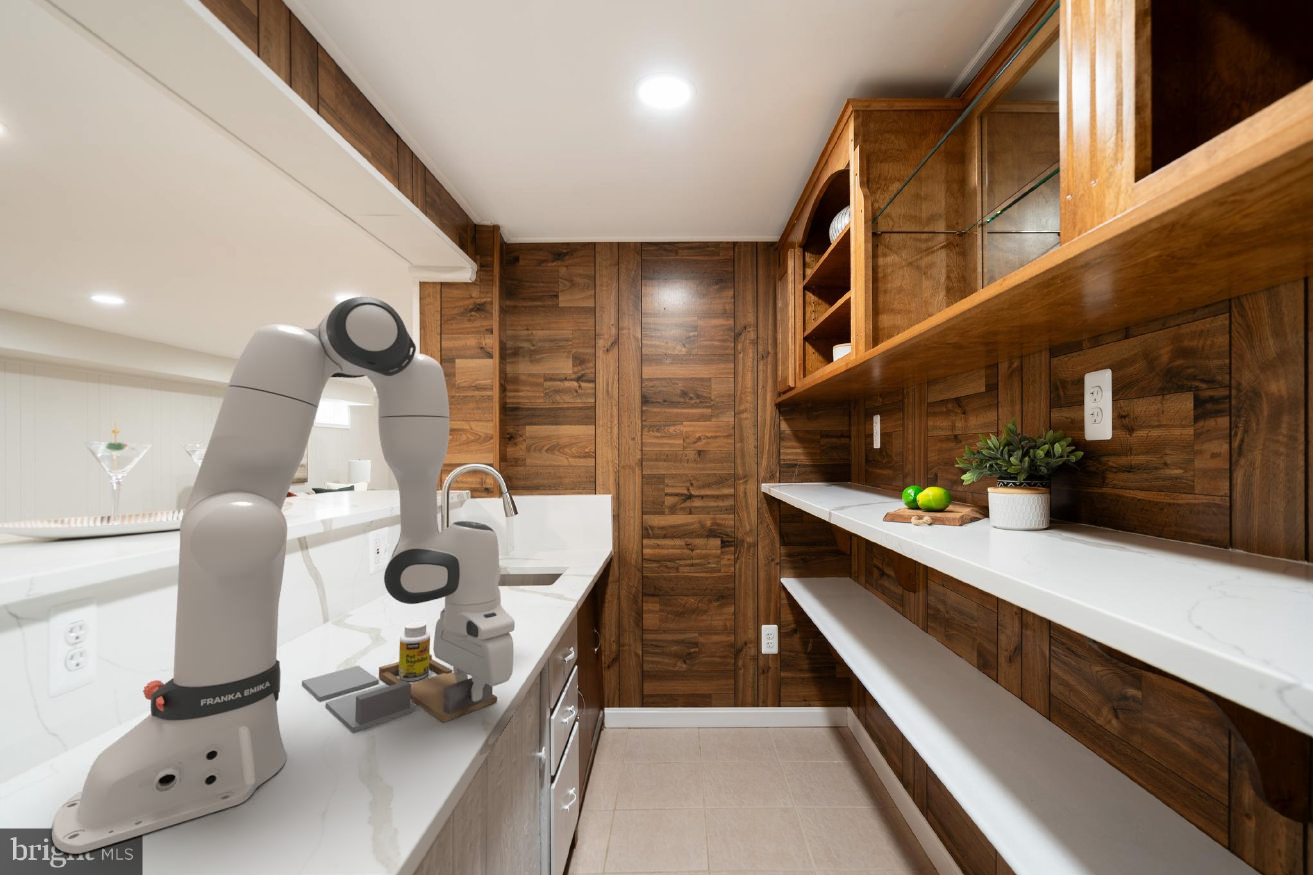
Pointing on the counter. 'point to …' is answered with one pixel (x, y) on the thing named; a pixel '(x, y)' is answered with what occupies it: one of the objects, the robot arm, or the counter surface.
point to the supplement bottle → (414, 652)
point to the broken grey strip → (345, 687)
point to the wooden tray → (440, 691)
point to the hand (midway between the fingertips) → (469, 695)
